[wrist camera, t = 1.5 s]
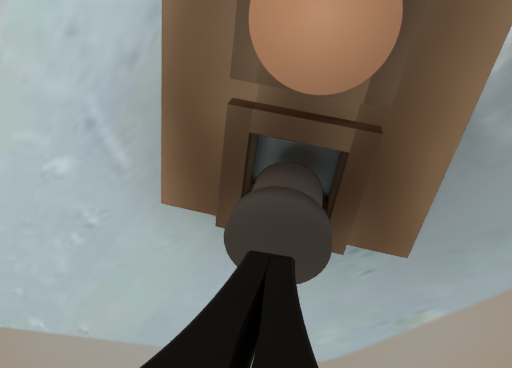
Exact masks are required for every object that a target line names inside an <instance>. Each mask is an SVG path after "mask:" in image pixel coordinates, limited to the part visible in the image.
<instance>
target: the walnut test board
mask: <svg viewBox="0 0 512 368" xmlns="http://www.w3.org/2000/svg"><path fill="white" fill-rule="evenodd" d="M250 1H251V0H162V134H161V203H162V204H166V205H171V206H175V207H180V208H184V209H189V210H193V211H198V212H202V213H207V214H211V215H216V226H217V227H222V228H225V227H226V224H227V222H228V219H229V217H230V215H231V212H232V210H233V208H234V206H235V205H236V203H237V202H238V201H239V200H240V199H241V198H242V197H243V196H245V195H246V194H248V193H249V192H251V191H252V190H253V187H254V184H253V183H251V178H252V171H253V164H254V157H255V150H256V144H257V137H258V134H259V135H264V136H269V137H274V138H279V139H284V140H289V141H294V142H299V143H304V144H309V145H314V146H319V147H324V148H329V149H334V150H339V151H341V154H340V158H339V161H338V165H337V168H336V172H335V176H334V179H333V183H332V187H331V190H330V194H329V197H328V199H323V201H322V208H323V209H324V210H325V212H326V213H327V215H328V217H329V220H330V223H331V227H332V247H331V252H333V253H337V254H342V255H343V254H344V251H345V248H346V245H351V246H355V247H360V248H364V249H369V250H373V251H378V252H382V253H387V254H391V255H396V256H400V257H405V258H408V256H409V253H410V251H411V249H412V247H413V244H414V242H415V240H416V238H417V236H418V233H419V231H420V229H421V227H422V224H423V222H424V220H425V218H426V215H427V213H428V211H429V209H430V206H431V204H432V202H433V200H434V198H435V195H436V193H437V191H438V189H439V186H440V184H441V182H442V180H443V177H444V175H445V173H446V171H447V169H448V166H449V164H450V162H451V160H452V157H453V155H454V153H455V151H456V148H457V146H458V144H459V142H460V140H461V137H462V135H463V133H464V131H465V128H466V126H467V124H468V122H469V119H470V117H471V115H472V113H473V110H474V108H475V106H476V104H477V102H478V99H479V97H480V95H481V93H482V90H483V88H484V86H485V84H486V81H487V79H488V77H489V75H490V73H491V70H492V68H493V66H494V64H495V61H496V59H497V57H498V55H499V52H500V50H501V48H502V46H503V44H504V41H505V39H506V37H507V35H508V32H509V30H510V28H511V26H512V0H403V15H402V23H401V27H400V32H399V35H398V38H397V40H396V43H395V45H394V47H393V49H392V51H391V53H390V55H389V56H388V58H387V59H386V61H385V62H384V63H383V64H382V66H381V67H380V68H379V69H378V70H377V71H376V72H375V73H374V74H373V75H372V76H371V77H369V78H368V79H367V80H365V81H364V82H362V83H361V84H359V85H357V86H355V87H354V88H351V89H349V90H346V91H344V92H340V93H336V94H330V95H312V94H306V93H302V92H298V91H296V90H293V89H291V88H289V87H287V86H285V85H283V84H282V83H281V82H279V81H278V80H277V79H275V78H274V77H273V76H272V75H271V74H270V73H269V72H268V71H267V69H266V68H265V67H264V66H263V64H262V63H261V61H260V59H259V58H258V56H257V54H256V51H255V49H254V46H253V43H252V40H251V35H250V30H249V7H250Z"/></svg>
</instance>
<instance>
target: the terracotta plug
mask: <svg viewBox="0 0 512 368" xmlns="http://www.w3.org/2000/svg"><path fill="white" fill-rule="evenodd" d="M402 15H403V0H251V1H250V7H249V30H250V35H251V40H252V43H253V46H254V49H255V51H256V54H257V56H258V58H259V59H260V61H261V63H262V64H263V66H264V67H265V68H266V69H267V71H268V72H269V73H270V74H271V75H272V76H273V77H274V78H275V79H277V80H278V81H279V82H281V83H282V84H283V85H285V86H287V87H289V88H291V89H293V90H296V91H298V92H302V93H306V94H312V95H330V94H336V93H340V92H344V91H346V90H349V89H351V88H354V87H355V86H357V85H359V84H361V83H362V82H364V81H365V80H367V79H368V78H369V77H371V76H372V75H373V74H374V73H375V72H376V71H377V70H378V69H379V68H380V67H381V66H382V64H383V63H384V62H385V61H386V59H387V58H388V56H389V55H390V53H391V51H392V49H393V47H394V45H395V43H396V40H397V38H398V35H399V32H400V27H401V23H402Z"/></svg>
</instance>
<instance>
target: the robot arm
mask: <svg viewBox="0 0 512 368" xmlns="http://www.w3.org/2000/svg"><path fill="white" fill-rule="evenodd" d="M254 354H255V355H254ZM253 357H254V359H253ZM252 360H253V363H252ZM251 364H252V368H318V365H317V362H316V360H315V357H314V354H313V351H312V348H311V344H310V341H309V338H308V335H307V331H306V327H305V324H304V320H303V316H302V311H301V307H300V303H299V298H298V292H297V286H296V277H295V260H294V259H293V257H289V256H283V255H277V254H271V253H265V252H259V251H253V250H250V251H248V252H247V253H246V255H245V256H244V258H243V260H242V261H241V263H240V264H239V266H238V267H237V269H236V270H235V271H234V273H233V274H232V275H231V277H230V278H229V279H228V281H227V282H226V283H225V284H224V286H223V287H222V288H221V289H220V290H219V292H218V293H217V294H216V295H215V297H214V298H213V299H212V300H211V301H210V302H209V303H208V305H207V306H206V307H205V308H204V309H203V310H202V311H201V312H200V313H199V314H198V315H197V316H196V317H195V319H194V320H193V321H192V322H191V323H190V324H189V325H188V326H187V327H186V328H185V329H184V330H183V331H182V332H181V333H179V334H178V335H177V336H176V337H175V338H174V339H173V340H172V341H171V342H170V343H169V344H168V345H166V346H165V347H164V348H163V349H162V350H161V351H159V352H158V353H157V354H156V355H155V356H154V357H152V358H151V359H150V360H149V361H148V362H146V363H145V364H144V365H143V366H141V367H140V368H250V367H251Z"/></svg>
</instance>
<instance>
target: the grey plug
mask: <svg viewBox="0 0 512 368" xmlns="http://www.w3.org/2000/svg"><path fill="white" fill-rule="evenodd" d="M322 201H323V188H322V185H321V182H320V180H319V179H318V177H317V176H316V175H315V174H314V173H313V172H312V171H311V170H310V169H308V168H307V167H305V166H303V165H301V164H298V163H293V162H279V163H275V164H272V165H270V166H268V167H267V168H265V169H264V170H263V171H262V172H261V173H260V174H259V176H258V177H257V179H256V182H255V184H254V187H253V190H252V191H251V192H249V193H248V194H246V195H245V196H243V197H242V198H241V199H240V200H239V201H238V202H237V203H236V205H235V206H234V208H233V210H232V212H231V215H230V217H229V219H228V222H227V224H226V227H225V231H224V244H225V248H226V251H227V253H228V255H229V257H230V258H231V260H232V261H233V262H234V264H235V265H236V266H237V267H238V266H239V264H240V263H241V261H242V260H243V258H244V256H245V255H246V253H247V252H248V251H250V250H253V251H259V252H265V253H271V254H277V255H283V256H289V257H293V259H294V260H295V277H296V284H300V283H303V282H306V281H308V280H310V279H312V278H314V277H315V276H317V275H318V274H319V273H320V272H322V270H323V269H324V268H325V267H326V265H327V263H328V261H329V259H330V256H331V247H332V227H331V223H330V220H329V217H328V215H327V213H326V212H325V210H324V209H323V208H322Z"/></svg>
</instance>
